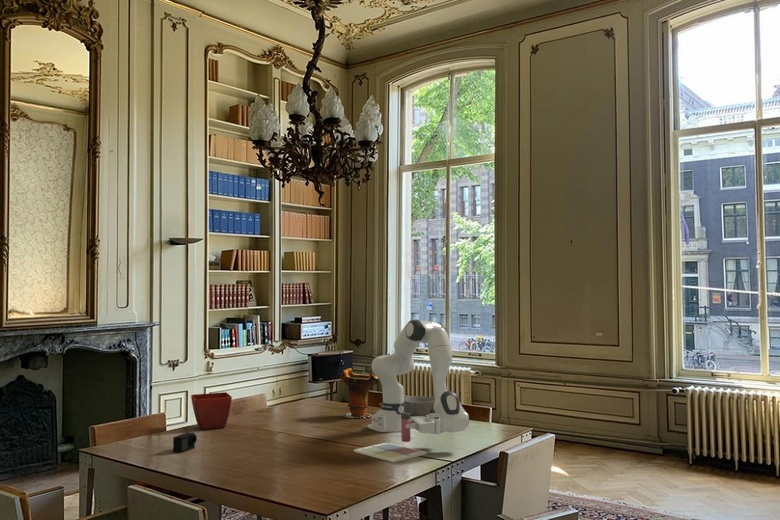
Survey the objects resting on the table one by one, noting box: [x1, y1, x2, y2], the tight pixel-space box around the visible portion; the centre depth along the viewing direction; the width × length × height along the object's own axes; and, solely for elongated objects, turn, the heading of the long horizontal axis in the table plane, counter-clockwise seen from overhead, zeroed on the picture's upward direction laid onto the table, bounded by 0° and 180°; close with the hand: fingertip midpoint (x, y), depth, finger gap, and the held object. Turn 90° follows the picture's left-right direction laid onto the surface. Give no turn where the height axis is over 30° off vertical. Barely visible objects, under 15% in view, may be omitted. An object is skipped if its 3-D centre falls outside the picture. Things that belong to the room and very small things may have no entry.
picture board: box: [353, 442, 428, 463], centre depth 282 cm, size 26×20×1 cm
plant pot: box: [190, 391, 233, 430], centre depth 344 cm, size 19×19×17 cm
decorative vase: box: [339, 367, 379, 419], centre depth 373 cm, size 20×22×27 cm
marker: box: [400, 413, 412, 443], centre depth 282 cm, size 4×4×12 cm
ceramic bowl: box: [404, 395, 434, 417], centre depth 371 cm, size 22×23×10 cm
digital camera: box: [172, 432, 197, 454], centre depth 291 cm, size 10×5×7 cm, turn 163°
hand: (403, 424), depth 282 cm, fingers closed on marker, 4 cm apart
